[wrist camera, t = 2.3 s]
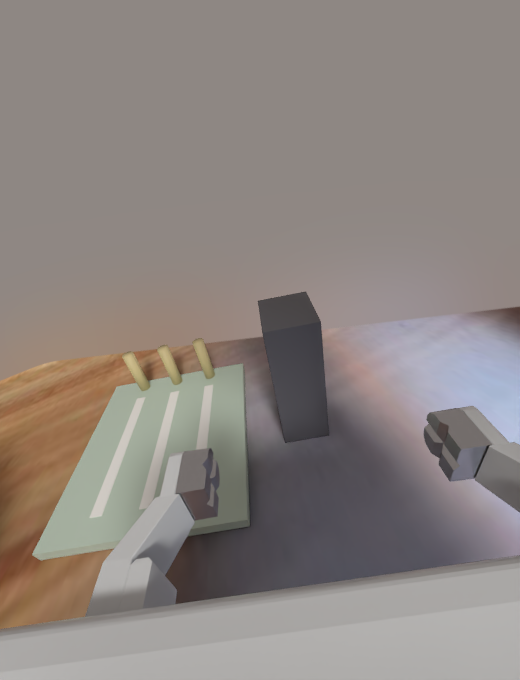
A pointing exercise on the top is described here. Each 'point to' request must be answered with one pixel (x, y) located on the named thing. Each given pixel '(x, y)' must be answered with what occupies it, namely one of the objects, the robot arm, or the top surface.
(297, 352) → the block
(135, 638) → the robot arm
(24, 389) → the top surface
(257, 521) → the top surface
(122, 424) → the pinboard
